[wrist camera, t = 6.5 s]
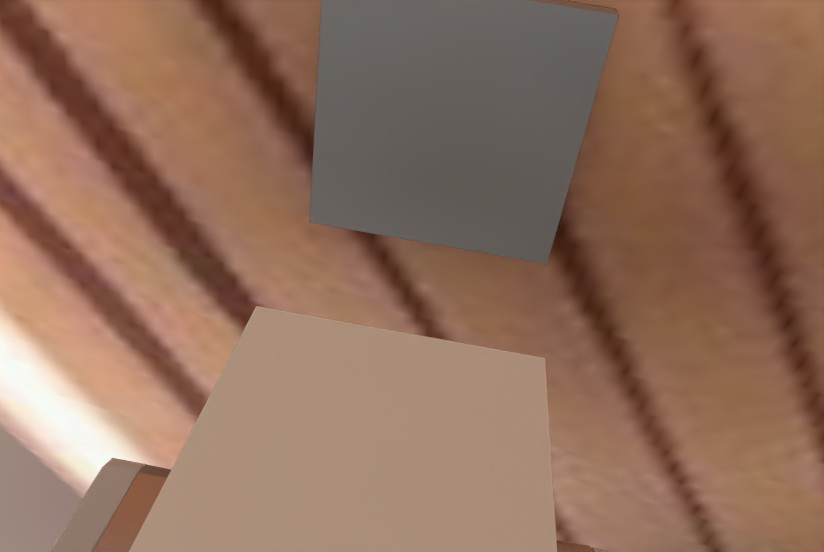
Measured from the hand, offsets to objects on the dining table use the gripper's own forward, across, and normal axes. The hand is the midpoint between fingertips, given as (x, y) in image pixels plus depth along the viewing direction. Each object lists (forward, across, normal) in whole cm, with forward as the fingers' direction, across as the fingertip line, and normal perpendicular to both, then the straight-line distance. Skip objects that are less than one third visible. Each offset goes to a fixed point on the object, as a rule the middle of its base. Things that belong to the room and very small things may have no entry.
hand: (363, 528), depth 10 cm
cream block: (+2, 0, 0) cm, 2 cm away
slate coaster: (+17, 0, 0) cm, 17 cm away
